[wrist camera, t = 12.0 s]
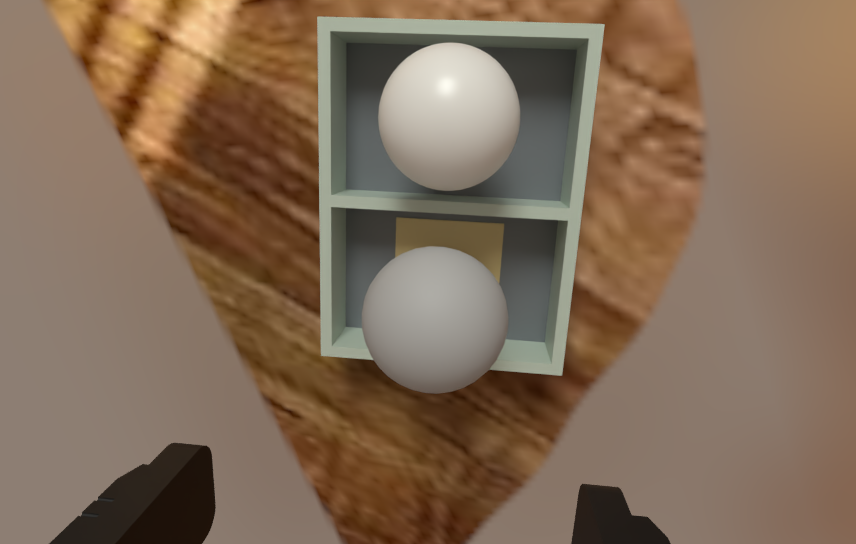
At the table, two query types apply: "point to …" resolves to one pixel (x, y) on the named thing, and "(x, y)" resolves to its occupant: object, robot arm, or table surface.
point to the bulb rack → (455, 164)
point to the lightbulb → (434, 319)
